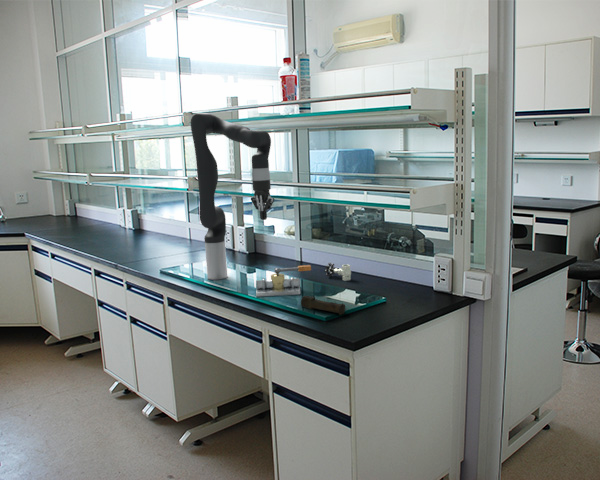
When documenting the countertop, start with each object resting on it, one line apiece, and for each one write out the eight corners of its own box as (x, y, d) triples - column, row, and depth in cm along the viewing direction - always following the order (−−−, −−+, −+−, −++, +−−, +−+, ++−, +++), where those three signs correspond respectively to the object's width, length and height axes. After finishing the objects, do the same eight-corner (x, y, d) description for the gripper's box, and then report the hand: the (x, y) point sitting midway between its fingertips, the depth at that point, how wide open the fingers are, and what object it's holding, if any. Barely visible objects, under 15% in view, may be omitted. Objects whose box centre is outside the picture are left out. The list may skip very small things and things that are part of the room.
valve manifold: (257, 288, 235) (256, 270, 234) (299, 286, 235) (298, 268, 234) (256, 296, 223) (255, 277, 222) (300, 294, 224) (299, 275, 222)
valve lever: (275, 273, 226) (274, 269, 226) (274, 272, 229) (274, 267, 228) (311, 270, 229) (310, 266, 228) (310, 269, 231) (309, 264, 231)
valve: (354, 278, 244) (334, 275, 252) (354, 264, 243) (333, 261, 251) (345, 282, 239) (324, 278, 247) (345, 267, 238) (324, 264, 246)
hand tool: (346, 313, 198) (346, 300, 197) (339, 316, 195) (339, 303, 194) (305, 305, 210) (305, 293, 209) (299, 307, 207) (298, 295, 206)
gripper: (278, 178, 230) (280, 219, 233) (257, 177, 239) (259, 217, 242) (265, 180, 224) (267, 221, 228) (244, 179, 233) (246, 219, 237)
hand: (263, 219), depth 235 cm, fingers closed
